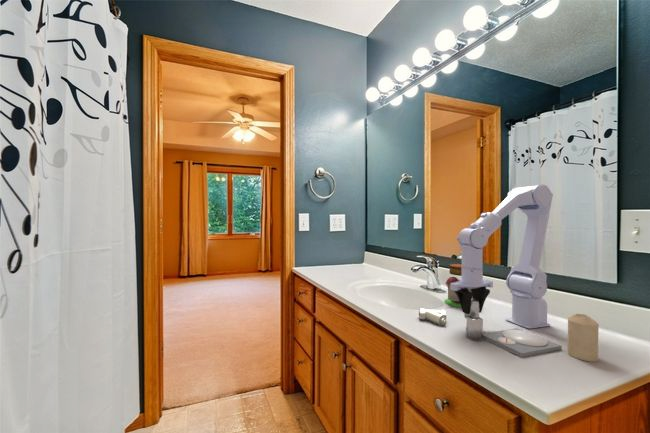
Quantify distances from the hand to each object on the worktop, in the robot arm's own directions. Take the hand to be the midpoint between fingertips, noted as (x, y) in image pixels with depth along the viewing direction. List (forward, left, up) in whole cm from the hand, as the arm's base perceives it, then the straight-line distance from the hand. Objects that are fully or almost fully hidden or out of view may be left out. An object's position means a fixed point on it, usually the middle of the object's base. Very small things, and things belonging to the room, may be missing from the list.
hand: (471, 312), depth 86 cm
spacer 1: (0, 0, -2) cm, 2 cm away
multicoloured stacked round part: (-15, -21, -5) cm, 26 cm away
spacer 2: (+5, +6, -5) cm, 9 cm away
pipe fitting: (+8, -8, -5) cm, 12 cm away
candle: (-12, +22, -5) cm, 25 cm away
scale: (-4, +12, -5) cm, 13 cm away
